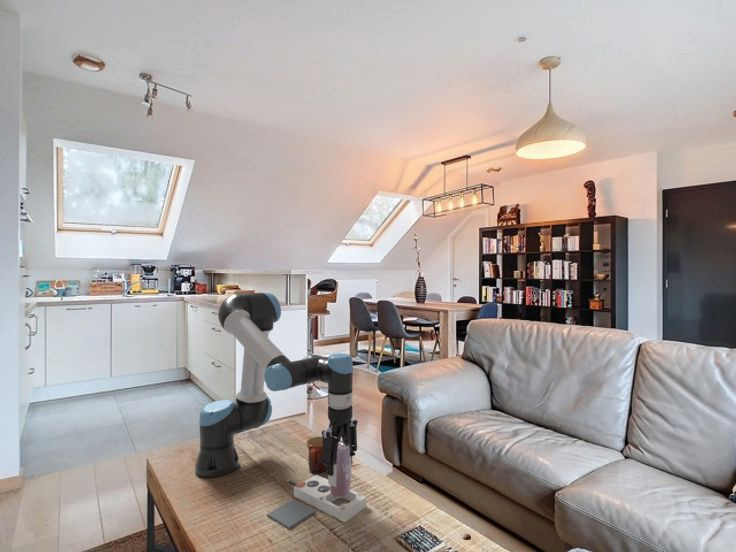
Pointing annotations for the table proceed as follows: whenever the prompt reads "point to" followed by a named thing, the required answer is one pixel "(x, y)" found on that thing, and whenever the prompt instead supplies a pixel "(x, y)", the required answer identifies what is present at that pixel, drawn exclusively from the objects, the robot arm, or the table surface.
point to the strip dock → (328, 498)
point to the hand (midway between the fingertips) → (339, 480)
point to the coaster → (291, 513)
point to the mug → (315, 455)
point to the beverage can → (342, 471)
